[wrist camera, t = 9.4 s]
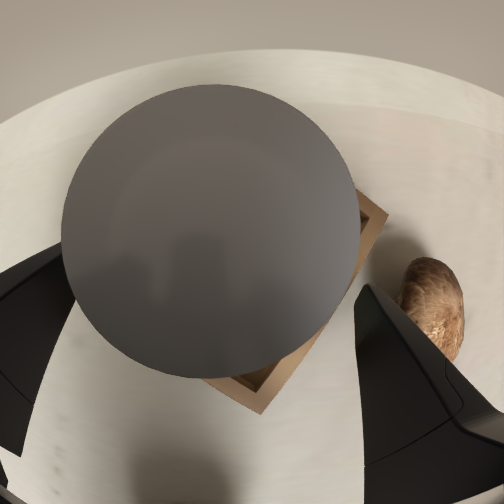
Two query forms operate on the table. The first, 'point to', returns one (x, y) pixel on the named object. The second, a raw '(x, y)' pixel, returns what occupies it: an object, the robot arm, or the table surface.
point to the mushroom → (434, 303)
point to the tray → (276, 375)
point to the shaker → (210, 231)
